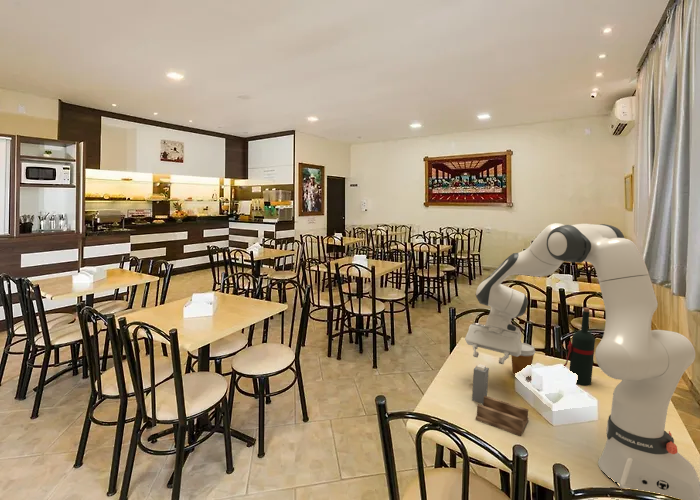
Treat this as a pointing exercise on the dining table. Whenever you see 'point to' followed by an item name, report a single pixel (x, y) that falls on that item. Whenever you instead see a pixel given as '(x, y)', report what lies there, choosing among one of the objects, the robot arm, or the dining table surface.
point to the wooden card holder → (502, 415)
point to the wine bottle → (582, 352)
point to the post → (480, 383)
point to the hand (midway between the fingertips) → (487, 360)
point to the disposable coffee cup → (523, 358)
